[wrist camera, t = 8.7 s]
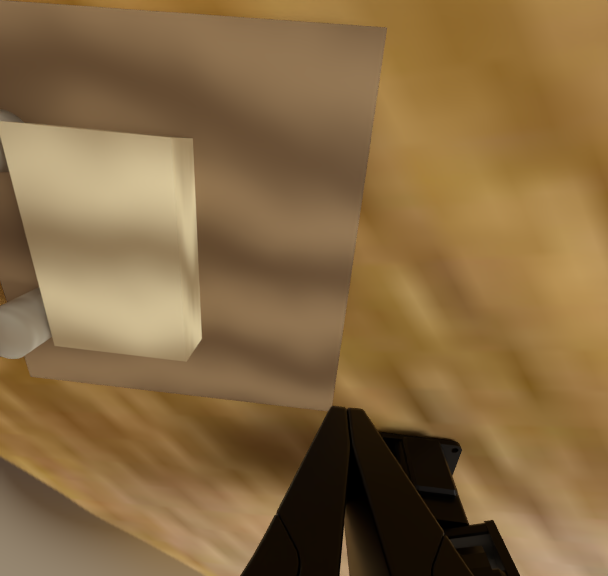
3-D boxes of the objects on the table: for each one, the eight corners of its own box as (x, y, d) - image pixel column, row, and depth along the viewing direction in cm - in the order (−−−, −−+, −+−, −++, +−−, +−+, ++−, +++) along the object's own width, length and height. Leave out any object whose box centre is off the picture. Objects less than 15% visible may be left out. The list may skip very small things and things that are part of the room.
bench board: (331, 396, 25) (331, 454, 20) (47, 364, 26) (-16, 412, 21) (382, 37, 16) (403, -6, 11) (-57, 6, 17) (-204, -47, 12)
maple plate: (201, 338, 22) (186, 361, 19) (83, 324, 22) (54, 345, 20) (192, 138, 17) (171, 137, 15) (40, 123, 17) (-4, 120, 15)
